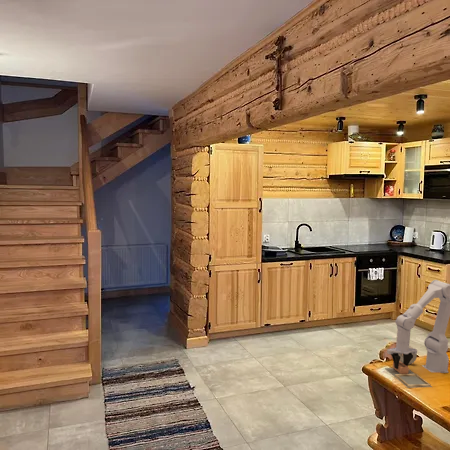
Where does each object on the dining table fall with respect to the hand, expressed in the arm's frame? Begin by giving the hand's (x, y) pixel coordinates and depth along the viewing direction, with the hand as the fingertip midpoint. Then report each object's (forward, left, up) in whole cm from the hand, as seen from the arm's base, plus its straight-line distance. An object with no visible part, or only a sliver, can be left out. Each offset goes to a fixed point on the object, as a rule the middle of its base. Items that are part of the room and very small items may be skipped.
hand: (400, 368), depth 208 cm
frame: (0, +10, -2) cm, 10 cm away
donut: (-8, -9, -2) cm, 13 cm away
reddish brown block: (0, 0, -1) cm, 1 cm away
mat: (0, +6, -2) cm, 7 cm away
